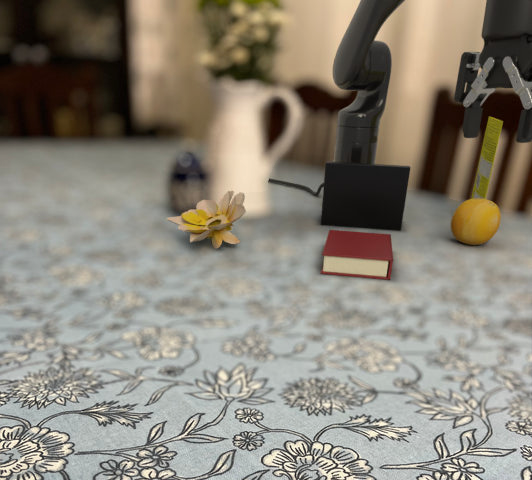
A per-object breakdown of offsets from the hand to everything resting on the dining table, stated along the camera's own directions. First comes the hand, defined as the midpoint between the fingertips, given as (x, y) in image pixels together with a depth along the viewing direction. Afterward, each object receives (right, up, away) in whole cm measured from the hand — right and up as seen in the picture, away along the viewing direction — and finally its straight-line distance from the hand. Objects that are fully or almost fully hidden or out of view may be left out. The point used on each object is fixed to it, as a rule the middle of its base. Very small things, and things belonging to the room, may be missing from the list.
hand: (495, 139), depth 68 cm
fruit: (+8, -8, +28) cm, 30 cm away
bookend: (-11, -1, +38) cm, 40 cm away
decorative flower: (-41, -8, +25) cm, 49 cm away
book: (-16, -13, +16) cm, 26 cm away
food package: (+15, +2, +46) cm, 48 cm away
